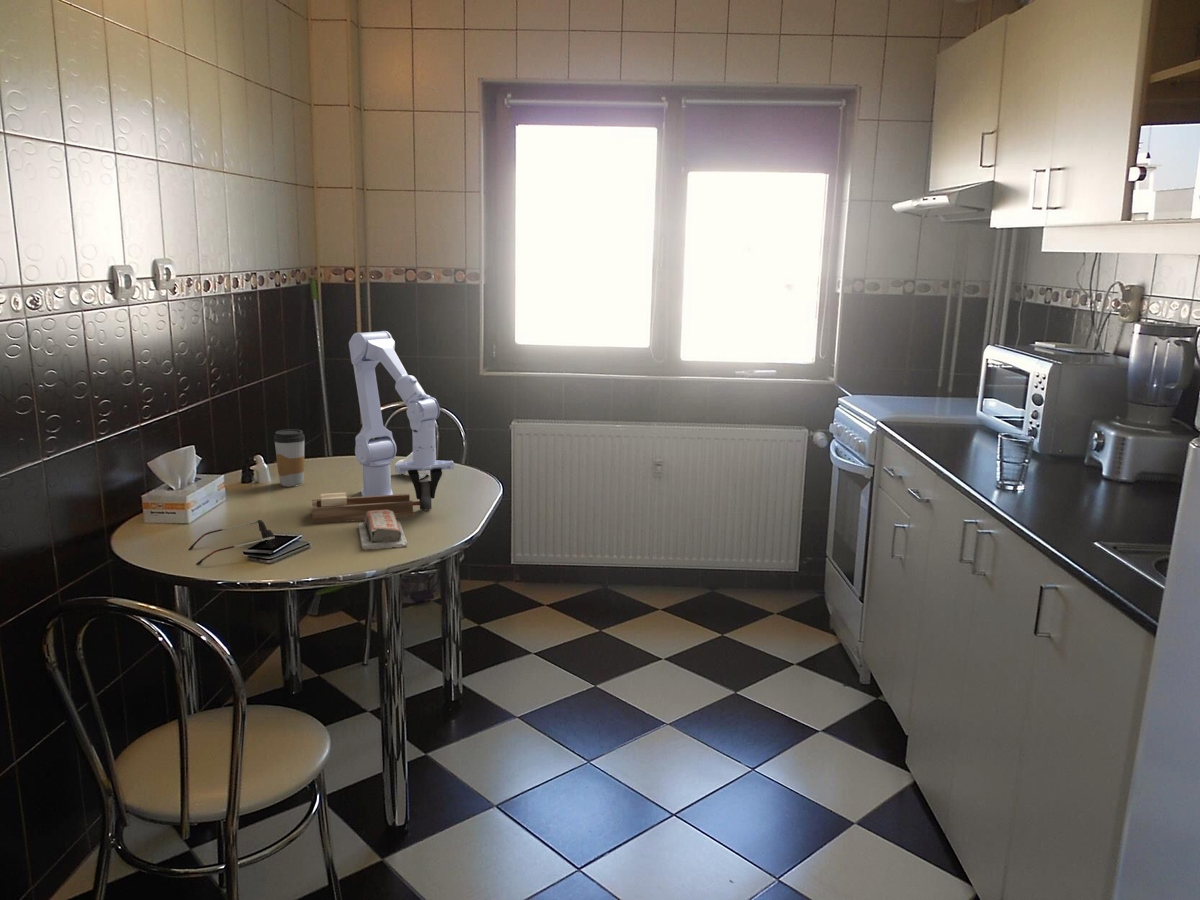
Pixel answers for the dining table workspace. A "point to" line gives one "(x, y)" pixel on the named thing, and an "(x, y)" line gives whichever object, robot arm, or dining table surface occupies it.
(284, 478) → the coffee cup
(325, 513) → the lane tray
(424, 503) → the grey and red rod
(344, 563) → the dining table surface
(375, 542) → the packaged product
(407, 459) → the white animal figurine
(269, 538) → the sunglasses
